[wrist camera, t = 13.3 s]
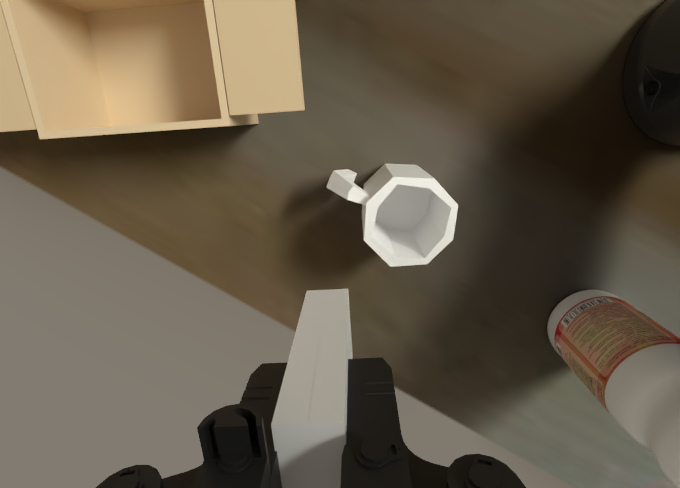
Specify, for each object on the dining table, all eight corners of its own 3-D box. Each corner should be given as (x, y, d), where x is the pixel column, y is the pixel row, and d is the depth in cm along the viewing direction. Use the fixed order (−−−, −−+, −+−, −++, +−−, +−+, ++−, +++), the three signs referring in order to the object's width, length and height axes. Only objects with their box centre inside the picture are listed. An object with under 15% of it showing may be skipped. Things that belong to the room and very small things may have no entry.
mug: (449, 179, 43) (476, 196, 34) (414, 248, 45) (429, 282, 36) (347, 134, 42) (345, 139, 33) (316, 207, 44) (307, 232, 35)
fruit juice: (561, 280, 46) (846, 504, 19) (638, 295, 46) (1025, 537, 20) (533, 349, 49) (748, 627, 22) (606, 363, 49) (906, 654, 23)
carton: (305, -13, 38) (289, -57, 28) (316, 119, 41) (305, 120, 32) (22, 12, 39) (-87, -22, 30) (56, 137, 43) (-31, 144, 33)
